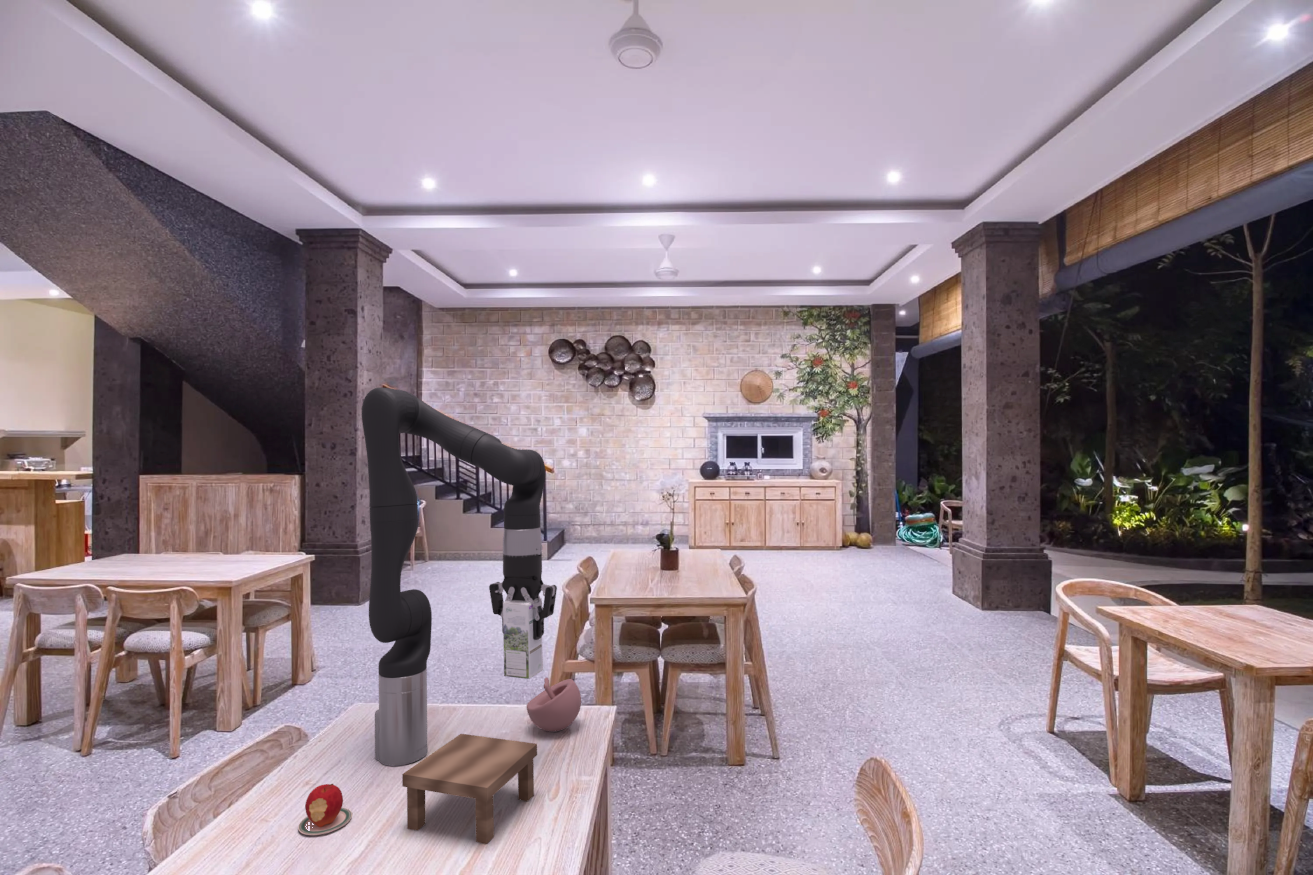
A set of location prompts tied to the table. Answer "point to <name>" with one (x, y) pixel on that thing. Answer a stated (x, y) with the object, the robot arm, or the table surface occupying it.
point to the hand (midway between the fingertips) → (523, 637)
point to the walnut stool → (470, 777)
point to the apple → (324, 811)
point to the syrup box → (520, 641)
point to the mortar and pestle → (555, 706)
